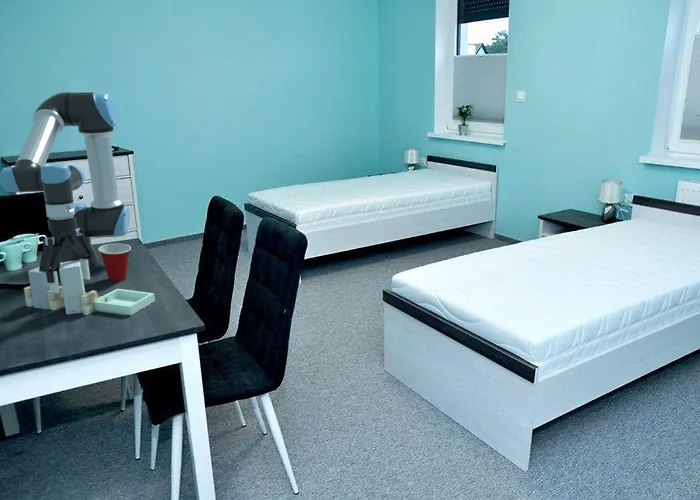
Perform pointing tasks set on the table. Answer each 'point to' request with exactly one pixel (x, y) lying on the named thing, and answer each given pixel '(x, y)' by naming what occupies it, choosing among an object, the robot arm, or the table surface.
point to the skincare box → (72, 286)
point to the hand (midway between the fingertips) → (71, 285)
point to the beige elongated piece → (58, 300)
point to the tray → (124, 302)
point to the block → (39, 288)
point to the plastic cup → (115, 260)
